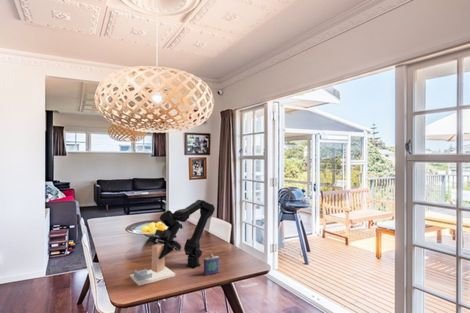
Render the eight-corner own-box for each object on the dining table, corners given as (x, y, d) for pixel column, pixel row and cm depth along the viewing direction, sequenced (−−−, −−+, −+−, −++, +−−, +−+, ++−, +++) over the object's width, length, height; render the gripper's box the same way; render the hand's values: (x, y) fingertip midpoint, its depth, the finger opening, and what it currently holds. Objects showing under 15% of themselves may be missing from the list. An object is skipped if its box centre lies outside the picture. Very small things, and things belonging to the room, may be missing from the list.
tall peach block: (158, 267, 153) (159, 242, 152) (164, 269, 151) (164, 244, 150) (151, 270, 149) (151, 245, 148) (156, 272, 147) (157, 247, 146)
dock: (164, 268, 169) (165, 260, 169) (175, 275, 159) (175, 268, 159) (130, 276, 157) (130, 269, 157) (138, 285, 147) (138, 277, 147)
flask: (217, 271, 166) (217, 252, 166) (220, 273, 164) (220, 253, 163) (203, 274, 161) (203, 255, 161) (205, 276, 159) (205, 256, 159)
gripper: (151, 220, 157) (134, 246, 148) (177, 225, 148) (161, 253, 139) (162, 231, 164) (146, 257, 155) (187, 237, 155) (172, 264, 145)
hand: (156, 258), depth 148 cm, fingers closed on tall peach block, 4 cm apart
